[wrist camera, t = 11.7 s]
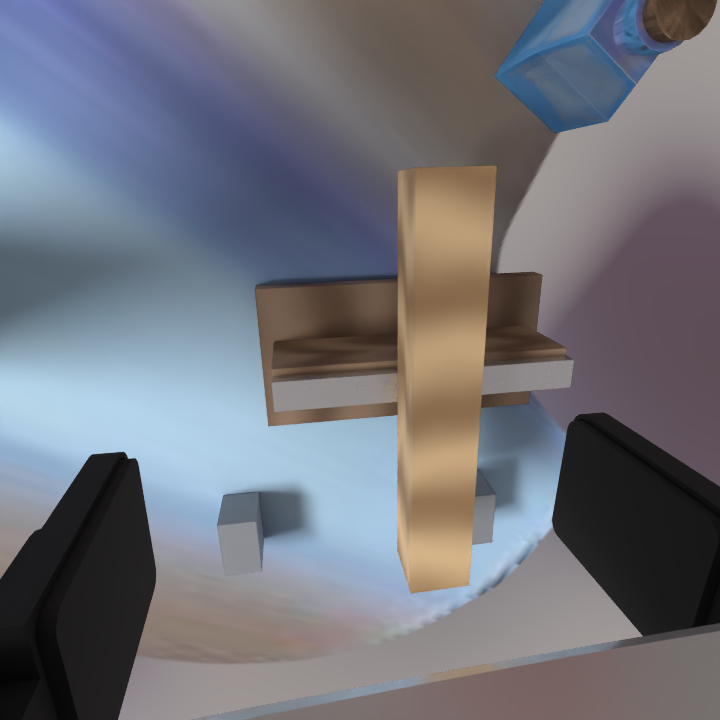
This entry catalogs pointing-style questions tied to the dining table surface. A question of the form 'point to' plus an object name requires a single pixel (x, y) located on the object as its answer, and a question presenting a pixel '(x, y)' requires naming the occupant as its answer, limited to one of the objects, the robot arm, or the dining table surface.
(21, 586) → the robot arm
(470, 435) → the oak batten
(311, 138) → the dining table surface
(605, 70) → the perfume bottle
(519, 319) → the stand
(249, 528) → the pair of grey cubes
